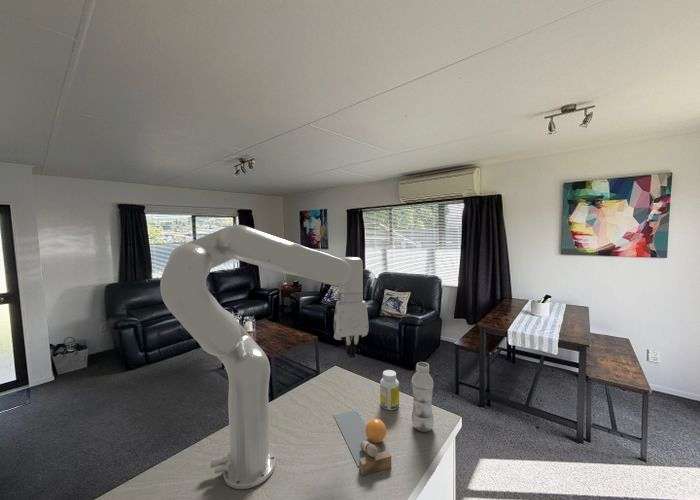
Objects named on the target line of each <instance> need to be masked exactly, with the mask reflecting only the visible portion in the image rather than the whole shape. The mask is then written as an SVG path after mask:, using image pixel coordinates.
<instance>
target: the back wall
mask: <svg viewBox="0 0 700 500" xmlns="http://www.w3.org/2000/svg"><path fill="white" fill-rule="evenodd" d="M390 468H392V455H391V453H390V451H389V450H385V451H382V452H381V453H377V455H376V456H374V457H372V456H367V457H363V458H360V459H359V467H358V469H359V470H358V471H359V472H360V475H361V476H362V477H365V476H367V475H371V474H374V473H378V472H380V471H383V470H387V469H390Z"/></svg>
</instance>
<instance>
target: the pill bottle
mask: <svg viewBox="0 0 700 500" xmlns="http://www.w3.org/2000/svg"><path fill="white" fill-rule="evenodd" d="M379 384H380V385H379V387H380V390H379V391H380V392H379V393H380V394H379V395H380V396H379V397H380V405H381V407H382V408H383V409H385V410H388V411H395V410H397V409H398V408H399V407H400V382H399V380H398V379H397V372H396V371H395V370H393V369H392V370H391V369H385V370H383V372H382V378H381V379H380V382H379Z"/></svg>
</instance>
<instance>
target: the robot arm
mask: <svg viewBox="0 0 700 500" xmlns="http://www.w3.org/2000/svg"><path fill="white" fill-rule="evenodd" d="M233 259H234V260H237V261H241V262H245V263H247V264H250V265H255V266H258V267H262V268H266V269H267V270H268V269H269V270H271V271H272V270H273V271H275V272H279V273H282V274H286V275H290V276H297V277H300V278H301V277H302V278H306V279H310V280H313V281H317V282H321V283H323V284H327V285H330V286H333V287H338V291H337V293H336V294H333V299H334V300H337V301H336V302H335V303H336V304H335V308H334V316H333V332H334V334H333V338H334V339H335V340H337V341H343V342H344V343H345V354H346V356H348V357H349V359H352V358H356V354H357V345H358V343H359V341H360V340H361V339H362V338H364V337H366V336H367V335H368V333H369V316H368V315H369V314H368V307H367V303H366V301H365V300H364V298H363V297H364V290H363V289H364V288H363V287H364V282H363V281H364V280H363V279H364V278H363V277H364V271H363V269H364V263H363V262H364V261H363V260H362V258H360V257H358V256H344V257H337V256H335V255H333V254H332V255H331V254H329V253H326V252H323V251H320V250H316V249H313V248H310V247H306V246H304V245H302V244H299V243H296V242H292V241H290V240H287V239H283V238H282V237H278V236H275V235H272V234H270V233H267V232H264V231H261V230H258V229H256V228H253V227H250V226H247V225H243V224H233V225H229V226H226V227H223V228H221V229H219V230H216V231H214V232H212V233H209V234H207V235H204V236H201V237H198V238H195V239H194V240H191V241H188V242H184V243H183V244H180V245H178V246H177V247H175V248H174V249H173V250H172V252H171V253H170V254H169V258H168V260H167V263H166V265H165V266H164V269H163V272H162V274H161V278H160V286H159V287H160V295H161V299H162V301H163V303H164V304H165V307H166V308H167V309H168V310H169V312H170V313H171V314H172V315H173V316H174V317H175V318H176V320H178V322H179V323H180V324H181V325H182V327H183V329H185V330H186V331H187V332H188V333H189V335H190V336H191V337H192V338H193V339H194V340H195V341H196V342H197V343H198V345H199V346H200V347H201V348H202V350H203V351H204V352H206V353H207V354H210V355H211V356H215V357H217V359H218V360H219V361H220V362H221V363H222V364H223V366H224V369H225V371H226V373H227V376H228V378H227V379H228V396H227V397H228V400H227V402H228V403H227V404H228V406H227V407H228V409H227V410H228V433H229V434H228V437H229V439H228V440H229V449H228V453H225V454H224V455H223V456H219V457H215V458H211V459H210V466H209V467H210V469H214V474H218V473H221V472H223V480H224V482H225V483H226V485H228V487H230V488H232V489H235V490H246V489H251V488H254V487H257V486H259V485H260V484H262V483H264V482H265V481H266V480H267V479H268V478H269V477H270V476H271V475H272V473H274V471H275V468H276V464H277V458H276V454H275V452H274V451H273V450H272V449H270V418H269V417H270V414H269V411H270V410H269V409H270V408H269V407H270V406H269V388H270V387H269V385H270V376H271V365H270V361H269V357H268V356H267V353H265V352H264V350H263V349H262V348H261V347H260V345H258V343H257V342H256V341H255V340H254V339H253V338H252V336H250V334H249V333H248V331H246V330H245V328H244V327H243V326H242V325H241V324H240V322H239V321H238V320H237V319H236V318H235V316H233V314H232V313H231V312H230V311H228V310H226V309H224V307H223V306H222V305H221V303H219V302H218V300H217V299H216V297H214V296H213V294H212V293H211V292H210V291H209V289H208V286H207V278H208V276H209V275H210V273H211V270H212V269H213V268H216V267H219V266H221V265H222V264H225V263H227V262H229V261H232V260H233Z"/></svg>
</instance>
